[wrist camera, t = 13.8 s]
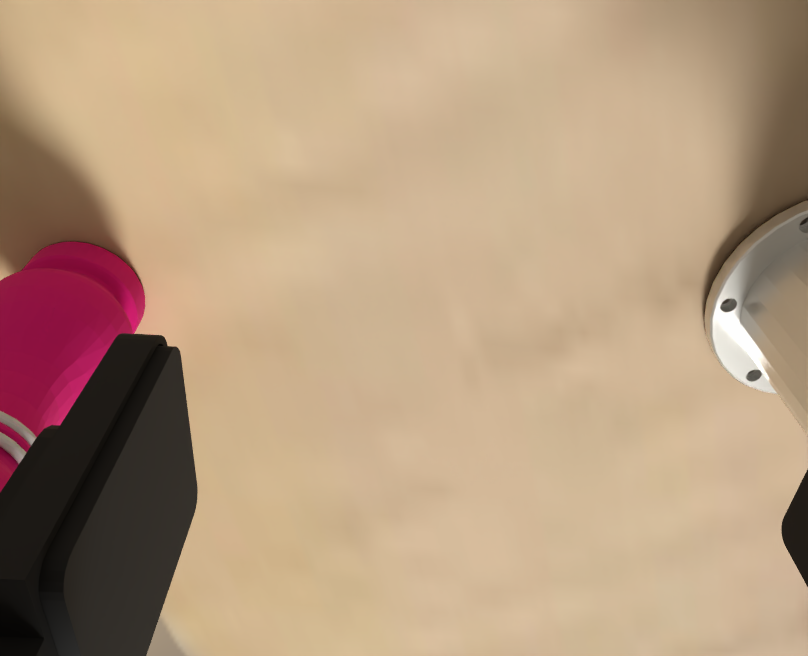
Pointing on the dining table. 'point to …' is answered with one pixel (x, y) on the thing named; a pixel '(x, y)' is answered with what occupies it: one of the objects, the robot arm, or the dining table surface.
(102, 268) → the pepper mill
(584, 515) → the dining table surface
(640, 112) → the dining table surface
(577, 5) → the dining table surface
